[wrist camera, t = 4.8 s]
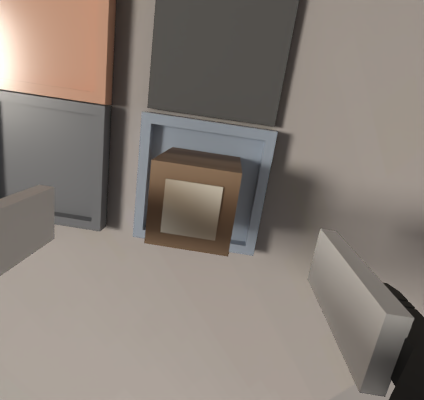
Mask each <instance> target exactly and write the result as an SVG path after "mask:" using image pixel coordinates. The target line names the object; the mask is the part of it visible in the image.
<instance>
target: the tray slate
mask: <svg viewBox="0 0 424 400" xmlns="http://www.w3.org/2000/svg"><path fill="white" fill-rule="evenodd" d="M277 133H278V132H277V131H274V130H268V129H261V128H254V127H248V126H241V125H234V124H227V123H221V122H214V121H207V120H200V119H194V118H187V117H180V116H173V115H167V114H160V113H153V112H142V118H141V131H140V145H139V159H138V173H137V187H136V201H135V215H134V228H133V237H138V238H145V230H146V218H147V206H148V194H149V182H150V170H151V160H152V159H153V158H155V157H157V156H158V155H160V154H162V153H163V152H165V151H167V150H168V149H170V148H172V147H176V148H182V149H189V150H196V151H202V152H209V153H216V154H222V155H229V156H235V157H240V160H241V167H242V178H241V184H240V190H239V196H238V201H237V207H236V213H235V219H234V225H233V230H232V236H231V242H230V248H229V252H233V253H239V254H245V255H252V256H253V254H254V249H255V244H256V239H257V234H258V229H259V224H260V219H261V214H262V209H263V204H264V199H265V194H266V189H267V184H268V179H269V174H270V169H271V164H272V159H273V154H274V148H275V143H276V138H277Z"/></svg>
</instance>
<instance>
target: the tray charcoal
mask: <svg viewBox="0 0 424 400" xmlns="http://www.w3.org/2000/svg"><path fill="white" fill-rule="evenodd" d="M110 128H111V106H106V105H99V104H92V103H86V102H79V101H72V100H65V99H59V98H52V97H45V96H38V95H32V94H25V93H18V92H11V91H5V90H0V199H1V198H4V197H6V196H9V195H12V194H15V193H18V192H20V191H23V190H26V189H29V188H31V187H34V186H37V185H44V186H51V187H54V224H56V225H63V226H69V227H75V228H82V229H88V230H94V231H101V230H102V229H103V228H104V227H105V226H106V218H107V196H108V173H109V151H110Z"/></svg>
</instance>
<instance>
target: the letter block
mask: <svg viewBox="0 0 424 400" xmlns="http://www.w3.org/2000/svg"><path fill="white" fill-rule="evenodd" d="M241 178H242V167H241V160H240V157H235V156H229V155H222V154H216V153H209V152H202V151H196V150H189V149H182V148H176V147H172V148H170V149H168V150H167V151H165V152H163V153H162V154H160V155H158V156H157V157H155V158H153V159H152V160H151V170H150V182H149V194H148V206H147V218H146V230H145V241H144V243H147V244H154V245H160V246H166V247H172V248H179V249H185V250H191V251H198V252H204V253H210V254H216V255H223V256H228V254H229V248H230V242H231V236H232V230H233V225H234V219H235V213H236V207H237V201H238V196H239V190H240V184H241Z"/></svg>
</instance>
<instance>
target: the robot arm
mask: <svg viewBox="0 0 424 400" xmlns="http://www.w3.org/2000/svg"><path fill="white" fill-rule="evenodd" d="M53 239H54V187H51V186H44V185H37V186H34V187H31V188H29V189H26V190H23V191H20V192H18V193H15V194H12V195H9V196H6V197H4V198H1V199H0V276H1V275H2V274H4V273H5V272H7V271H8V270H10V269H11V268H12V267H14V266H15V265H17V264H18V263H20V262H21V261H23V260H24V259H25V258H27V257H28V256H30V255H31V254H33V253H34V252H36V251H37V250H38V249H40V248H41V247H43V246H44V245H46V244H47V243H49V242H50V241H51V240H53ZM308 281H309V283H310V285H311V288H312V290H313V292H314V294H315V296H316V299H317V301H318V303H319V305H320V307H321V309H322V312H323V314H324V316H325V318H326V320H327V323H328V325H329V327H330V329H331V331H332V334H333V336H334V338H335V340H336V342H337V344H338V347H339V349H340V351H341V353H342V355H343V358H344V360H345V362H346V364H347V366H348V369H349V371H350V373H351V375H352V377H353V379H354V382H355V384H356V386H357V388H358V390H359V392H360V393H366V394H372V395H378V396H384V397H385V395H386V393H387V390H388V387H389V385H390V382H391V380H392V381H393V383H394V385H395V388H394V390H393V392H392V394H391V396H390V399H389V400H424V317H423V316H422V315H421V314H420V313H419V312H418V311H417V310H416V309H415V307H414V306H413V305H412V304H411V303H410V302H408V300H407V299H406V298H405V297H404V296H403V295H402V294H401V293H400V292H399V291H398V290H396V289H395V288H393V287H392V286H390V285H389V284H387V283H383V282H382V281H381V280H380V279H379V278H378V277H377V276H376V275H375V274H374V272H373V271H372V270H371V269H370V268H369V267H368V266H367V265H366V263H365V262H364V261H363V260H362V259H361V258H360V257H359V256H358V255H357V253H356V252H355V251H354V250H353V249H352V248H351V247H350V246H349V245H348V243H347V242H346V241H345V240H344V239H343V238H342V237H341V236H340V234H339V233H338V232H337V231H334V230H327V229H321V228H320V232H319V236H318V240H317V244H316V248H315V252H314V256H313V260H312V264H311V268H310V272H309V276H308Z"/></svg>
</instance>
